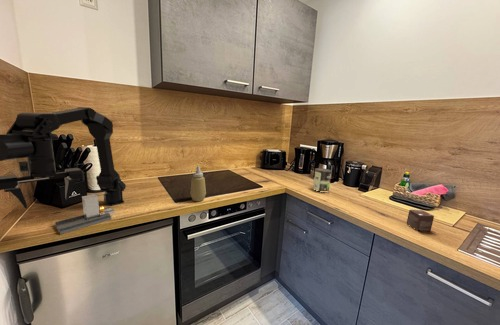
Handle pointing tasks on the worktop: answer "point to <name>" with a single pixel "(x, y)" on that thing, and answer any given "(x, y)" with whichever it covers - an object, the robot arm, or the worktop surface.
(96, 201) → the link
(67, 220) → the rail
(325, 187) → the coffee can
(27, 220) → the worktop surface
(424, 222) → the box
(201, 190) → the squeeze bottle
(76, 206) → the worktop surface
